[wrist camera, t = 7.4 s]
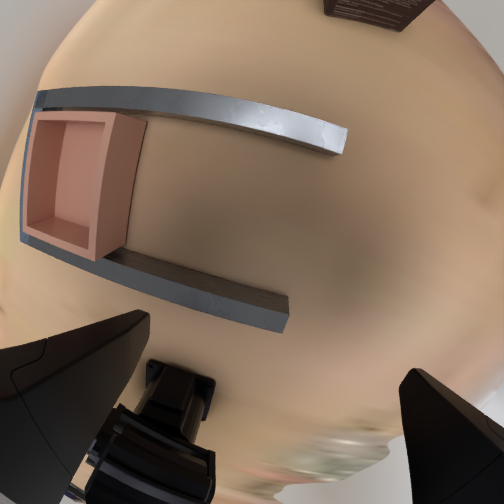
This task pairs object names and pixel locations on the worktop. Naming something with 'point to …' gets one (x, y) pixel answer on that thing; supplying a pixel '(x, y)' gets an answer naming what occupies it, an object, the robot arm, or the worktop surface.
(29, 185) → the crate
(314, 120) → the crate bay
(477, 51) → the worktop surface
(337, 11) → the box
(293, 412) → the worktop surface
